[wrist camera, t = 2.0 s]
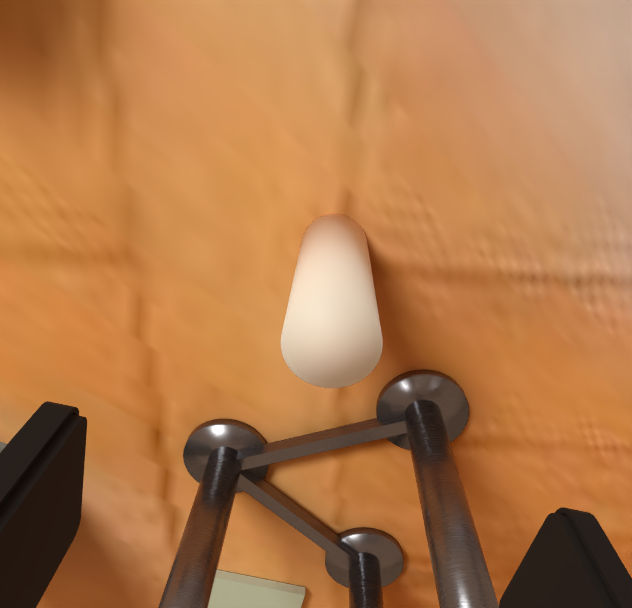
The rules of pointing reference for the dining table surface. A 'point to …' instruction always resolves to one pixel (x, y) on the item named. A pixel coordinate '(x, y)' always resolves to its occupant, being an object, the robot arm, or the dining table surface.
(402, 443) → the upright post stand
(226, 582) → the pad
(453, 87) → the dining table surface
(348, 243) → the dowel
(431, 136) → the dining table surface
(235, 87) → the dining table surface
